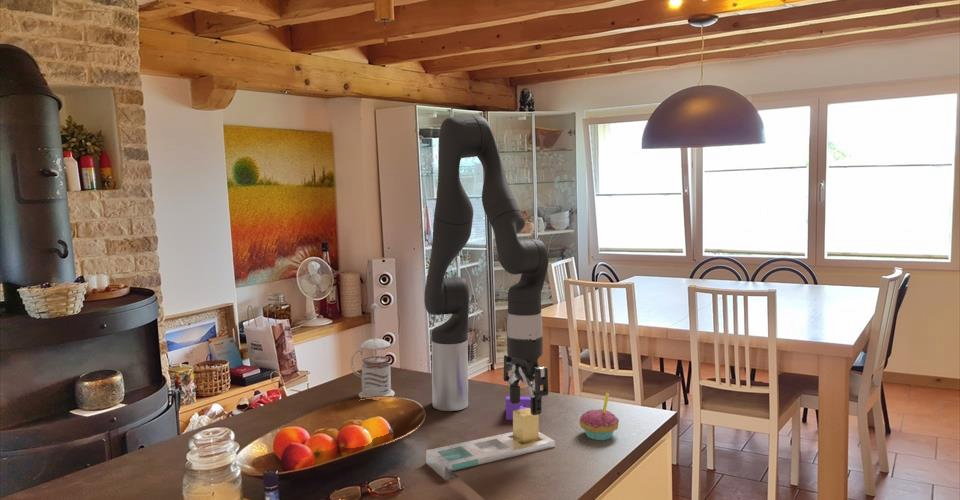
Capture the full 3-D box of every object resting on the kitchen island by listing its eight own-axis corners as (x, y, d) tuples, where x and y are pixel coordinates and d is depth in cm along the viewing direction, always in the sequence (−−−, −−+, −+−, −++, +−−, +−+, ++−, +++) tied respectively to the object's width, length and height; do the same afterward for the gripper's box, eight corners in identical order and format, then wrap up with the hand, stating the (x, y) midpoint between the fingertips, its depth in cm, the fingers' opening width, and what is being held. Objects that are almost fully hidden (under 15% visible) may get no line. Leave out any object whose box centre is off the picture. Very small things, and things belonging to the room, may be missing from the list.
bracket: (535, 427, 164) (535, 399, 163) (506, 427, 164) (505, 399, 163) (534, 410, 176) (534, 383, 175) (507, 409, 176) (507, 383, 175)
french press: (392, 399, 184) (390, 307, 181) (348, 400, 184) (345, 307, 181) (397, 388, 193) (395, 300, 191) (355, 388, 194) (353, 300, 191)
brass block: (513, 442, 150) (512, 410, 149) (528, 438, 152) (528, 407, 151) (522, 448, 147) (522, 416, 146) (538, 444, 149) (538, 413, 148)
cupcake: (620, 437, 156) (621, 385, 155) (615, 451, 148) (616, 397, 147) (582, 432, 159) (583, 382, 158) (575, 446, 151) (575, 393, 150)
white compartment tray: (426, 463, 143) (425, 450, 143) (532, 439, 156) (532, 427, 155) (445, 480, 135) (444, 466, 135) (555, 453, 148) (555, 441, 147)
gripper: (492, 329, 151) (493, 402, 153) (527, 342, 139) (527, 421, 140) (522, 326, 155) (522, 397, 156) (558, 338, 142) (558, 415, 144)
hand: (525, 408), depth 148 cm, fingers open, 8 cm apart
